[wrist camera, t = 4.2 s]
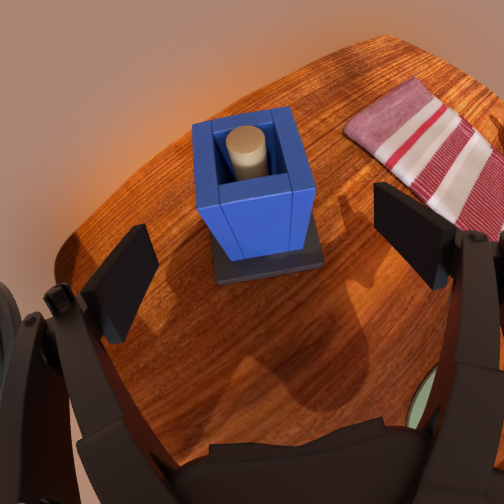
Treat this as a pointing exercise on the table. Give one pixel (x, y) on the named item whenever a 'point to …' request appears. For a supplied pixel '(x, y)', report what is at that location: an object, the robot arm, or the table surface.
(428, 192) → the dish towel
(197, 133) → the sleeve
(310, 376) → the table surface
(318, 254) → the dowel stand
